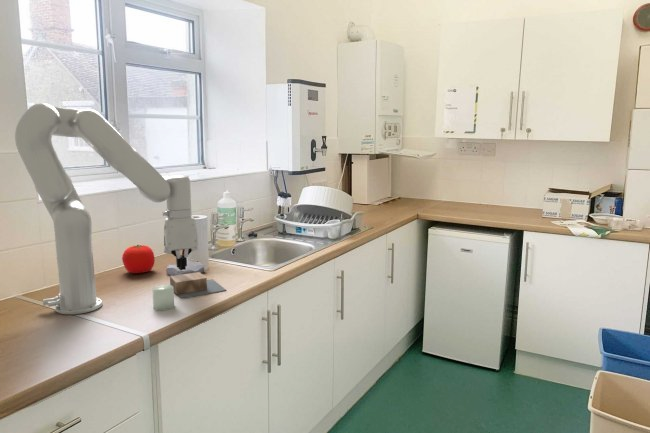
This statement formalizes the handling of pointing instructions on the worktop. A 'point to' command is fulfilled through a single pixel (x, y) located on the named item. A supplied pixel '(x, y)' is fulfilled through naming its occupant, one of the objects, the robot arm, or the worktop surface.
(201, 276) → the brown wooden block
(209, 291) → the mat
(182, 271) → the stone block
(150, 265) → the tomato
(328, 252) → the worktop surface
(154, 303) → the rounded cube
